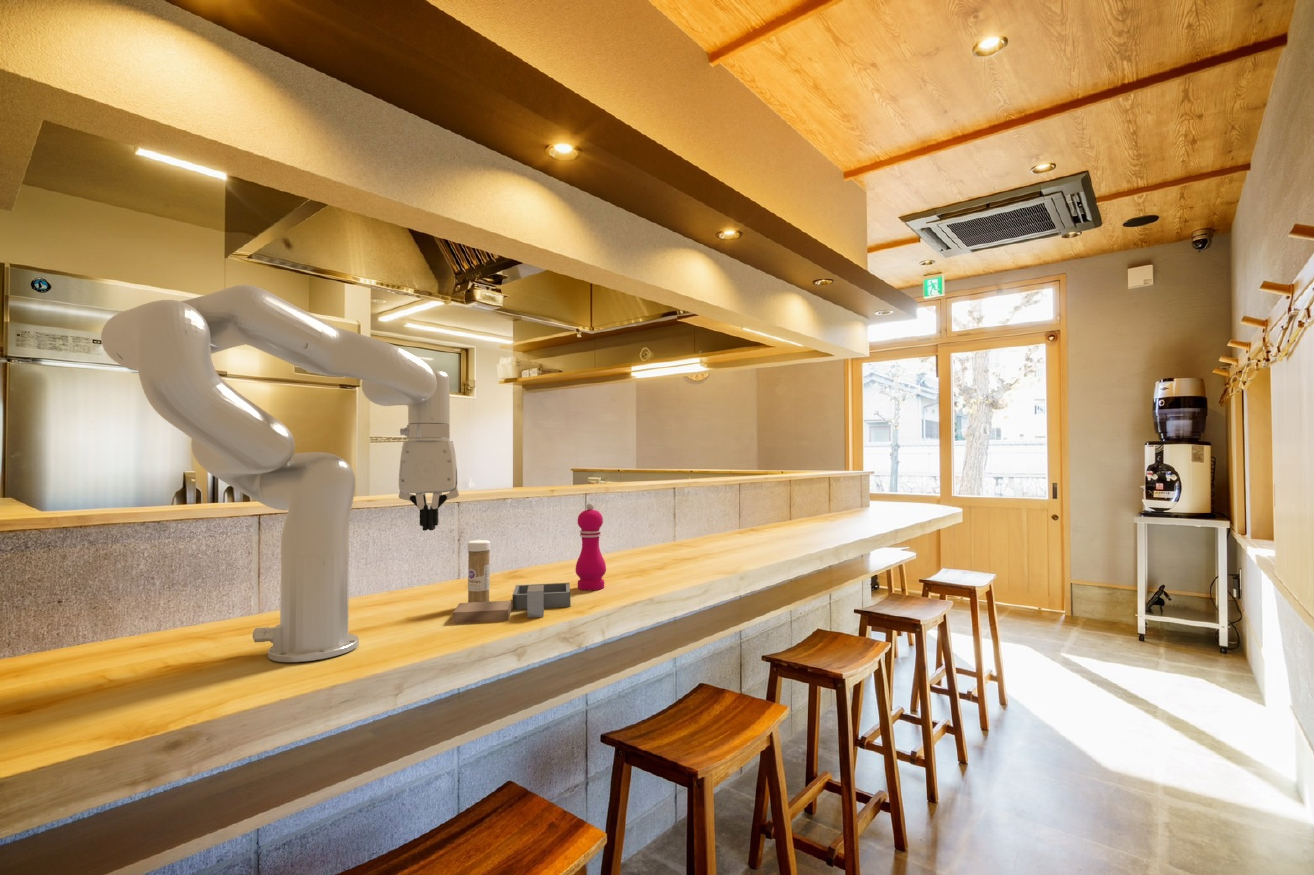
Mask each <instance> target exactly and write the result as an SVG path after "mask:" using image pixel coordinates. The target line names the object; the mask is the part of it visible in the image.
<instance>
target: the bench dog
mask: <svg viewBox="0 0 1314 875" xmlns="http://www.w3.org/2000/svg"><path fill="white" fill-rule="evenodd" d="M528 585H529V586H528V590H527V609H526V610H527V612H526V613H527V615H526V616H527V617H526V618H527V619H533V618H535V619H536V618H544V614H545V608H544V585H531V584H528Z"/></svg>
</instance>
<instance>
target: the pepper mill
mask: <svg viewBox="0 0 1314 875" xmlns="http://www.w3.org/2000/svg"><path fill="white" fill-rule="evenodd" d="M594 508H595V505H594V504H593V503H592V502H589V503H587V504H586V509H584V510H583V511H581V512H580V513H579V514H578V517H577V525H578V527H579V528H580V530H579V533H580V535H579V537H580V538H581V551H580V554H579V556H578V559H577V561H576V564H575V570H574V571H575V574H576V575H577V576H578V578H579V580H577V589H578V590H580V591H585V592H586V591H590V592H591V591H598V590H599V591H600V590H603V589H604V588H605V580H604V579H603V577H604V576H605V574H606V572H607V566H606V565H607V564H606V561H605V559H604V556H603V554H602V552H601V549H600V537H601V536H602V534H601V533H602V530H601V529H600V528H601V527H602V525H603V523H604V519H603V518H604V517H603V515H602V513H601V512H600V511H598V510H597V509H594Z"/></svg>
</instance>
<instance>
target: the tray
mask: <svg viewBox="0 0 1314 875" xmlns="http://www.w3.org/2000/svg"><path fill="white" fill-rule="evenodd" d="M570 584H571V583H570V582H559V583H558V582H557V583H556V582H555V583H553V582H552V583H537V584H536V583H533V584H517V585H516V584H515V587H514V590H513V593H512V610H514V611H515V610H527V590H528V586H529V585H544V609H550V608H552V609H553V608H567V607H569V608H570V607H571V588H570V587H571V585H570Z"/></svg>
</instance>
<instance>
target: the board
mask: <svg viewBox="0 0 1314 875" xmlns="http://www.w3.org/2000/svg"><path fill="white" fill-rule="evenodd" d="M511 613H512V600H495V601H490V602H473V603H468V602H460V603H458V604H457V606H456V607H455V609H454V610H453V612H452V625H453V624H454V625H457V624H473V623H490V622H491V623H492V622H493V623H494V622H507V621H509V619H510V616H511Z"/></svg>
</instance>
